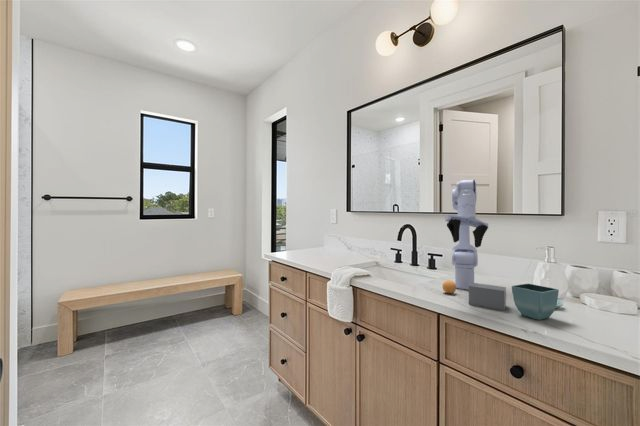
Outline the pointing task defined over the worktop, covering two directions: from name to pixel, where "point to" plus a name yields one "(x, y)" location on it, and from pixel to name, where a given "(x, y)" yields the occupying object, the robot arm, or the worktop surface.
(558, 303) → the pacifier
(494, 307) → the gray rectangular block
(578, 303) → the worktop surface
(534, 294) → the flower pot
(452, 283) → the ball
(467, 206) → the robot arm
